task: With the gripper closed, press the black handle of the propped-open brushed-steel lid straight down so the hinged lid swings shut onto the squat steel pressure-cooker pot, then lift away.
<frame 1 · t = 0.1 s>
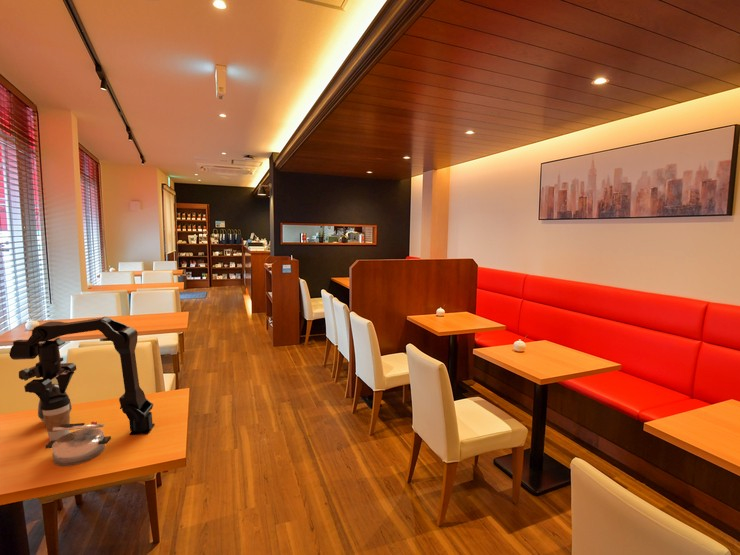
hand: (54, 399, 137), 15 cm above the table, fingers open, 9 cm apart
lid: (78, 425, 129), point 10 cm above the table, hinge at 28.0°
coffee cup: (59, 436, 139), on the table
pump dispenser: (56, 421, 149), on the table
pot: (80, 452, 130), on the table
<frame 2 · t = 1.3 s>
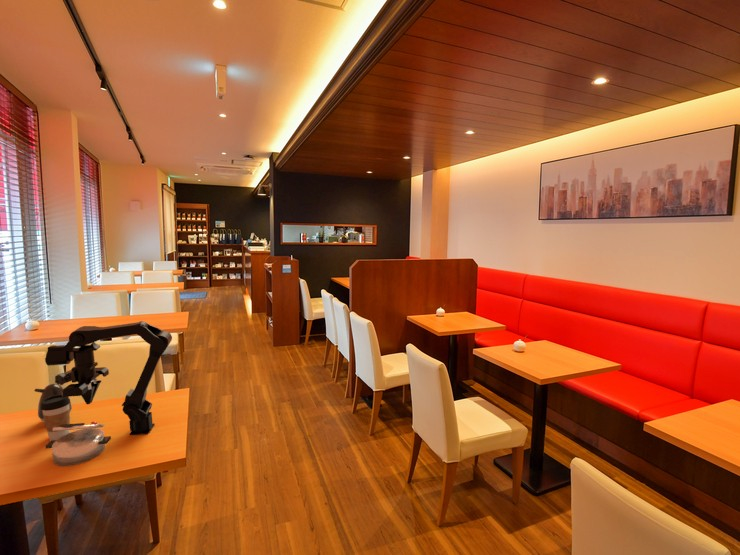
hand: (89, 403, 137), 13 cm above the table, fingers closed
nothing on the table moved.
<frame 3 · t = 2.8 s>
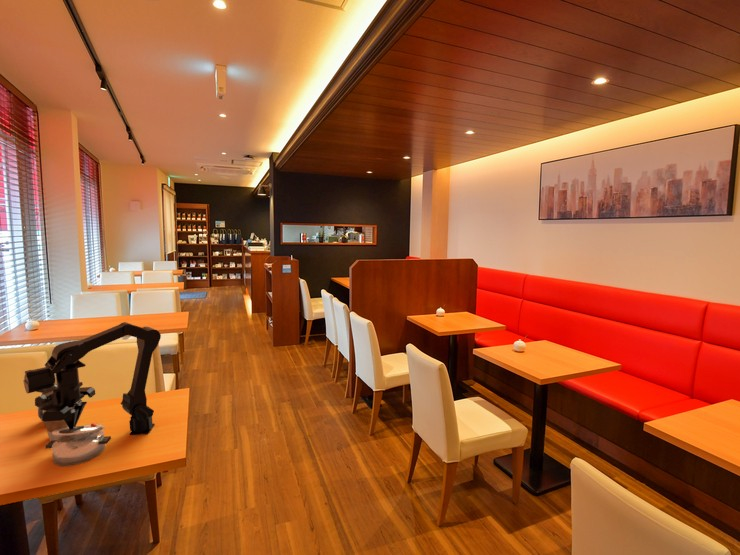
hand: (72, 427, 126), 11 cm above the table, fingers closed
lid: (78, 428, 128), point 9 cm above the table, hinge at 20.8°, touching gripper
everything else where it was.
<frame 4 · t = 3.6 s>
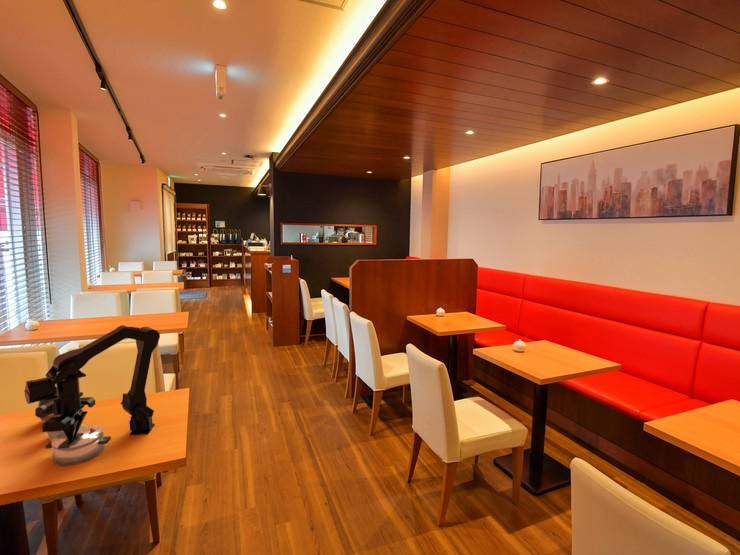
hand: (72, 437, 126), 7 cm above the table, fingers closed, pressing on lid
lid: (77, 436, 128), point 6 cm above the table, hinge at 3.0°, touching gripper
everything else where it was.
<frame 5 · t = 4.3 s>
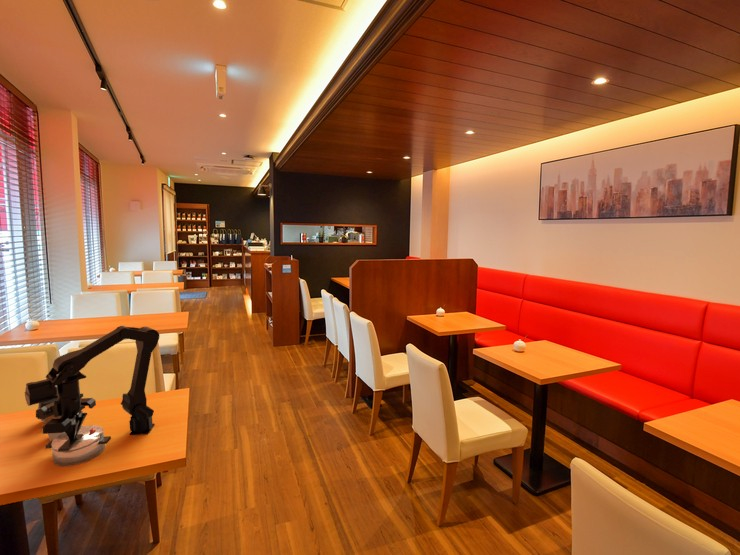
hand: (73, 438, 126), 7 cm above the table, fingers closed, pressing on lid
lid: (77, 437, 128), point 6 cm above the table, hinge at -0.3°, touching gripper
everything else where it was.
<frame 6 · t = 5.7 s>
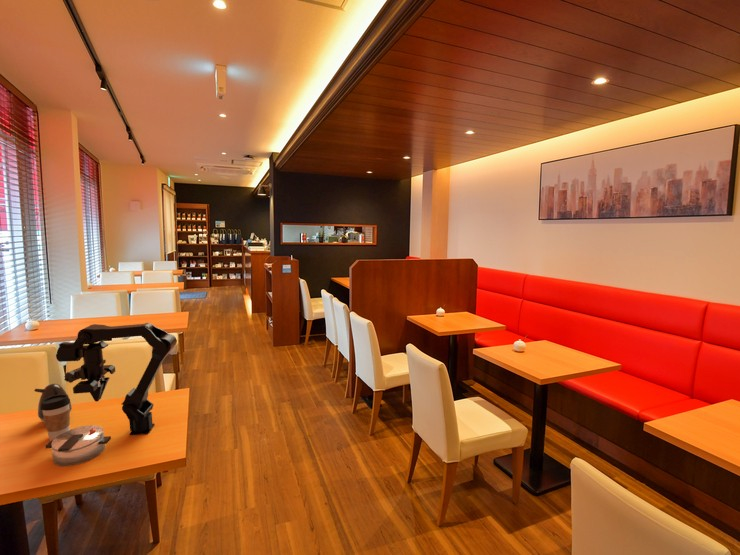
hand: (97, 400, 140), 13 cm above the table, fingers closed
lid: (77, 437, 128), point 6 cm above the table, hinge at -0.3°
everything else where it was.
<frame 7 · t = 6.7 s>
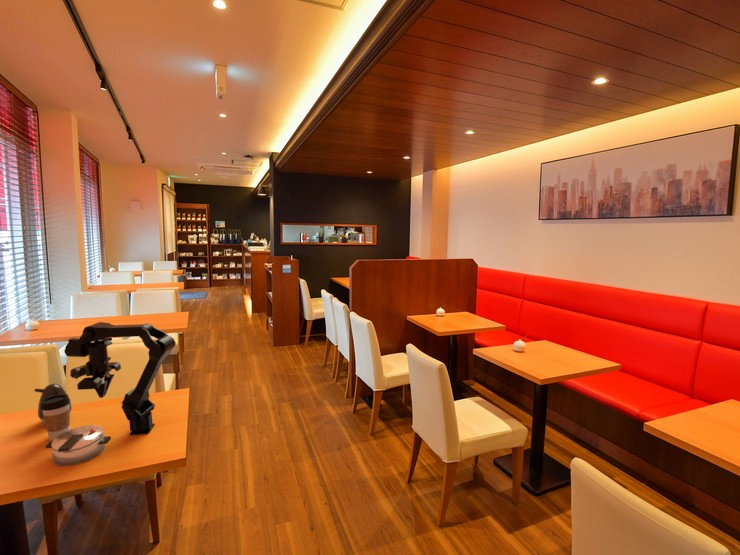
hand: (102, 396, 142), 13 cm above the table, fingers closed
nothing on the table moved.
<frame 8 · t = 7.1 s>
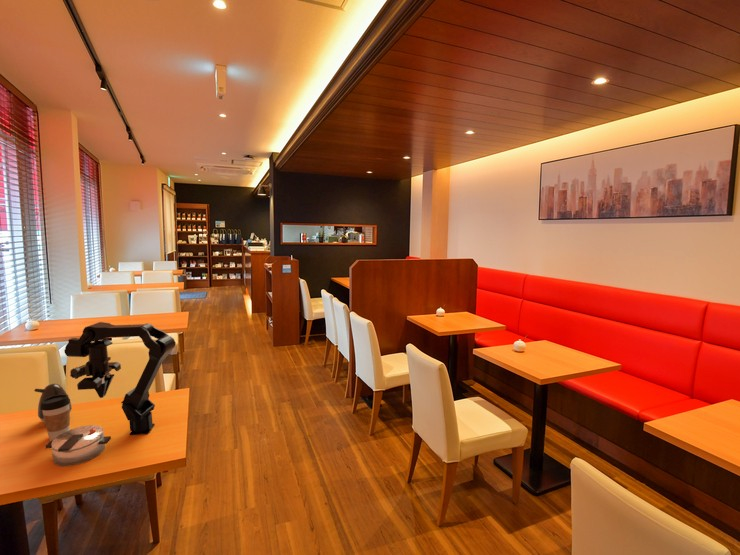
hand: (102, 396, 142), 13 cm above the table, fingers closed
nothing on the table moved.
at the end: lid at +0° (first picture: +28°) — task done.
